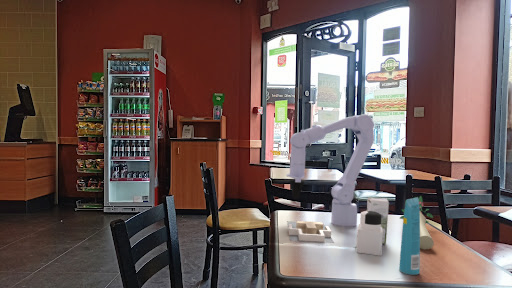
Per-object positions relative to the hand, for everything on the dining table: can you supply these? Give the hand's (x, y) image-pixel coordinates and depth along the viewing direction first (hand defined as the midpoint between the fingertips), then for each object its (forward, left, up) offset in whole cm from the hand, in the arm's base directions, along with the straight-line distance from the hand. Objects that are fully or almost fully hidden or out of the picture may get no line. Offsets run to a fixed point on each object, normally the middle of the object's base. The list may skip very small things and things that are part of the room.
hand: (295, 198), depth 140 cm
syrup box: (-26, +18, -10) cm, 33 cm away
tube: (-27, +45, -10) cm, 53 cm away
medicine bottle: (-21, +29, -10) cm, 37 cm away
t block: (-4, +18, -9) cm, 20 cm away
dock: (-4, +19, -9) cm, 21 cm away
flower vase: (-44, +8, -10) cm, 46 cm away
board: (-4, +13, -10) cm, 16 cm away
